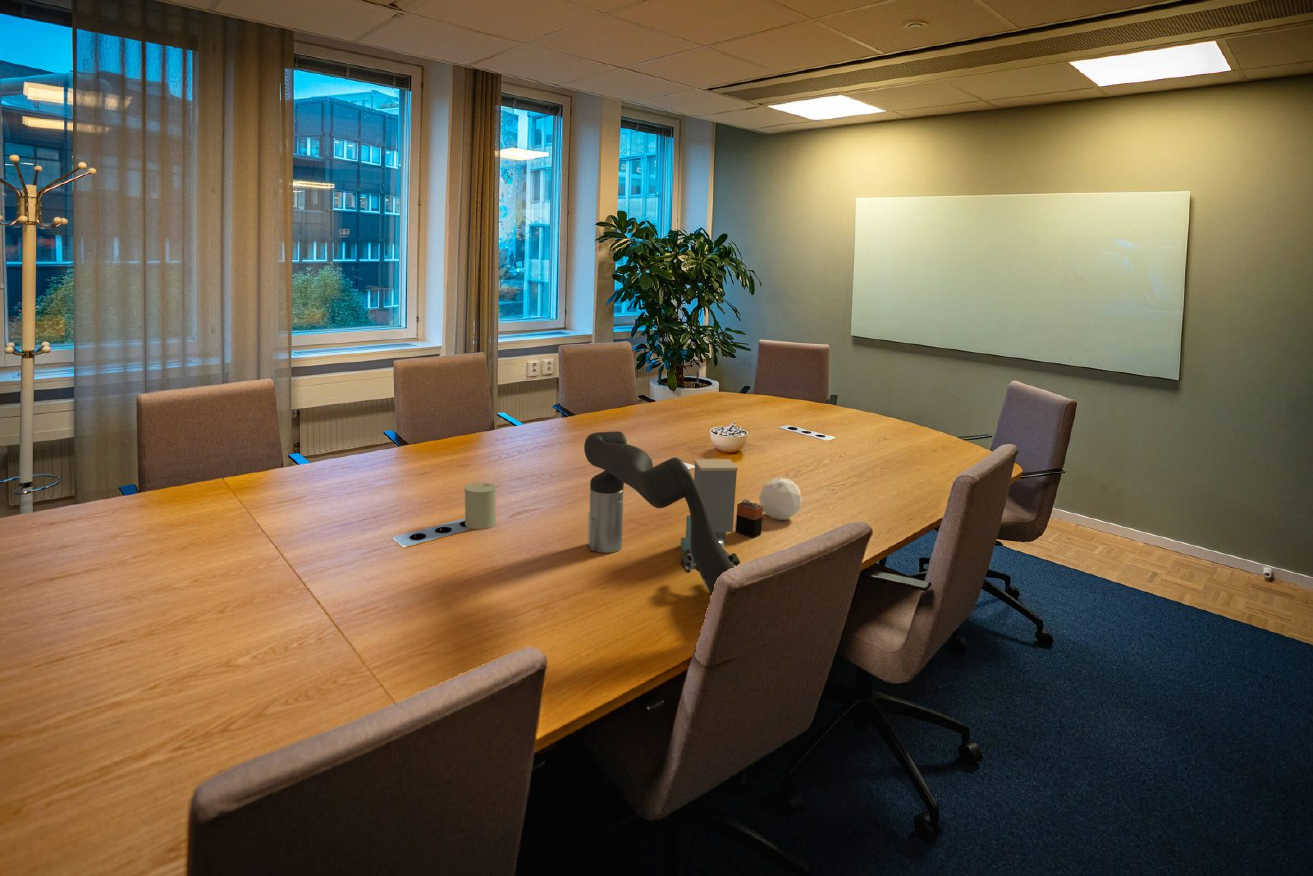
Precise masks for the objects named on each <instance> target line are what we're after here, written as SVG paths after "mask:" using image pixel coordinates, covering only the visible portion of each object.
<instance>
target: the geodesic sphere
mask: <svg viewBox="0 0 1313 876" xmlns="http://www.w3.org/2000/svg"><path fill="white" fill-rule="evenodd" d="M758 499H759V505H761V506H763V513H764V514H766V515H767V516H768V517H770V518H771V519H772V520H780V521H781V520H785V521H786V520H788V519H789V518H791V517H793V516H794V515H796V514H797V513H798V512H799V511H800V509H801V506H802V501H803V498H802V493H801V491H800V486H798V485H797V484H795V483H794V482H793V481H792V480H791V479H790V478H783V477H780V476H779V477H775V478H773V479H771V480H770V481H769V482H766V483H765V484H764V485H763V486H762V488H761V491H760V494H759V496H758Z"/></svg>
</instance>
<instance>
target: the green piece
mask: <svg viewBox="0 0 1313 876" xmlns="http://www.w3.org/2000/svg"><path fill="white" fill-rule="evenodd" d="M685 521H686V522H685V525H686V526H685V537H680V544H679V545H680V548H681V550H682V552H683V554H685V551H687V549H690V550H691V546H690V538H691V516H690V515H686V519H685ZM693 561H694V560H693V558H692V562H693Z"/></svg>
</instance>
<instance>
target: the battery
mask: <svg viewBox="0 0 1313 876" xmlns="http://www.w3.org/2000/svg"><path fill="white" fill-rule="evenodd" d="M736 505H737V506H736V518H735V532H736V533H737V534H739V535H740V534H741V535H743V536H747V537H750V538H756V537H758V536H760V535H762V526H763V525H762V524H763V513H764V512H763V506H761V504H759V503H757V502H751V501H750V500H749V499H742V502H739V503H737V504H736Z"/></svg>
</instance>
